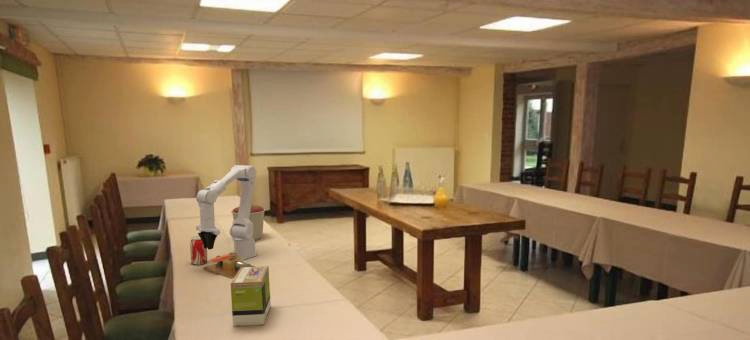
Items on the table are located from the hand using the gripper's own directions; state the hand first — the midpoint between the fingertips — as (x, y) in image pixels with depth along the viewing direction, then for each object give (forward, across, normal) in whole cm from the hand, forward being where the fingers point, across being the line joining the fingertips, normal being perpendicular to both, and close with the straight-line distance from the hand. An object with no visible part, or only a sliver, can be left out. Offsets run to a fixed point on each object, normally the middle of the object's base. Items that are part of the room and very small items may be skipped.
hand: (208, 248), depth 190 cm
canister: (+10, -27, +43) cm, 52 cm away
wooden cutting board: (+10, +6, +8) cm, 14 cm away
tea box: (+10, +51, -18) cm, 55 cm away
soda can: (+10, -13, +4) cm, 17 cm away
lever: (+5, +6, +4) cm, 8 cm away
